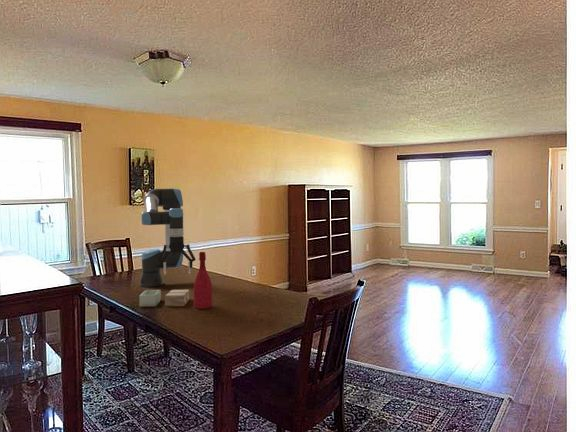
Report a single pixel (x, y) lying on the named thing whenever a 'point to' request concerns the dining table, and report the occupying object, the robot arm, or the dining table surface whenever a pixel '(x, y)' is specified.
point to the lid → (177, 298)
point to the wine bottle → (202, 286)
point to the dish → (150, 297)
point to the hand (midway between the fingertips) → (177, 273)
